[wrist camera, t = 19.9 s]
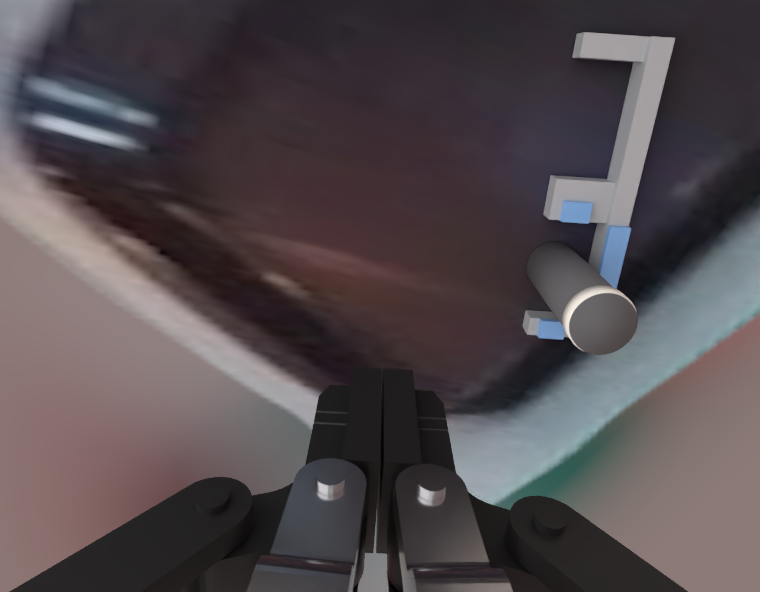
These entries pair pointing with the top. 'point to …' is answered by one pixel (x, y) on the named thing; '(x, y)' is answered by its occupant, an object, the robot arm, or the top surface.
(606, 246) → the grey blue frame
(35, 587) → the robot arm
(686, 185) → the top surface
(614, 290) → the grey cylinder post
